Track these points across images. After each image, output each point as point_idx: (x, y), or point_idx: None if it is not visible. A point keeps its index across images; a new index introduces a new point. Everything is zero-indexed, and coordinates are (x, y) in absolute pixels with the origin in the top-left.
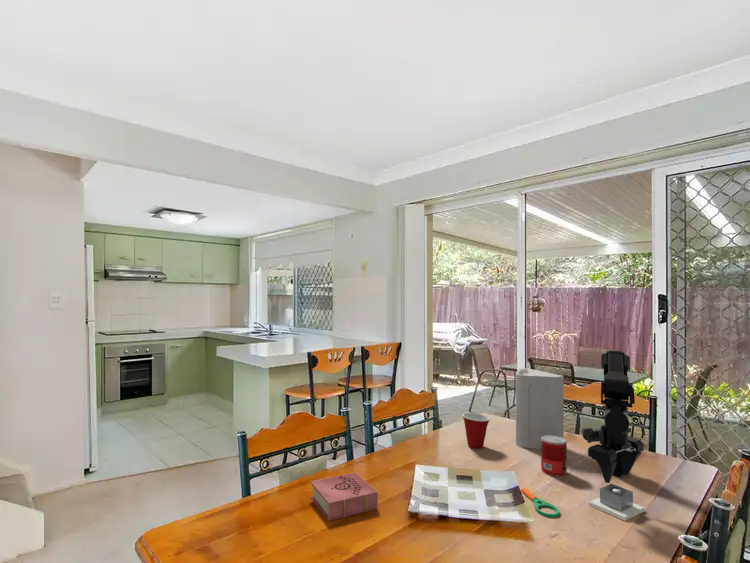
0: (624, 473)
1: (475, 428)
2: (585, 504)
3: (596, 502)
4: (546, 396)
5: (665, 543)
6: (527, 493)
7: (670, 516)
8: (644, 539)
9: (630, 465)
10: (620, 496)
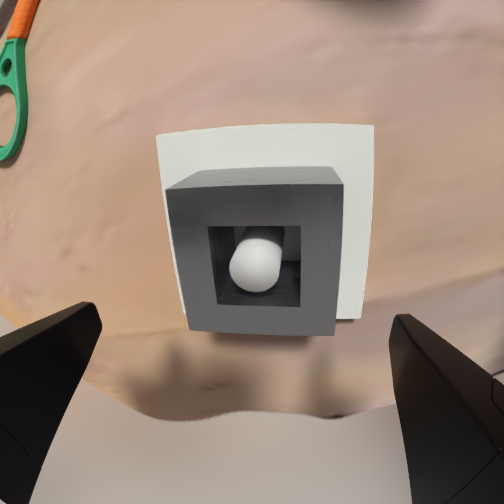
0: (395, 341)
1: None
2: (155, 118)
3: (183, 160)
4: None
5: (188, 407)
6: (17, 3)
7: (391, 368)
8: (150, 374)
9: (407, 461)
10: (189, 325)
